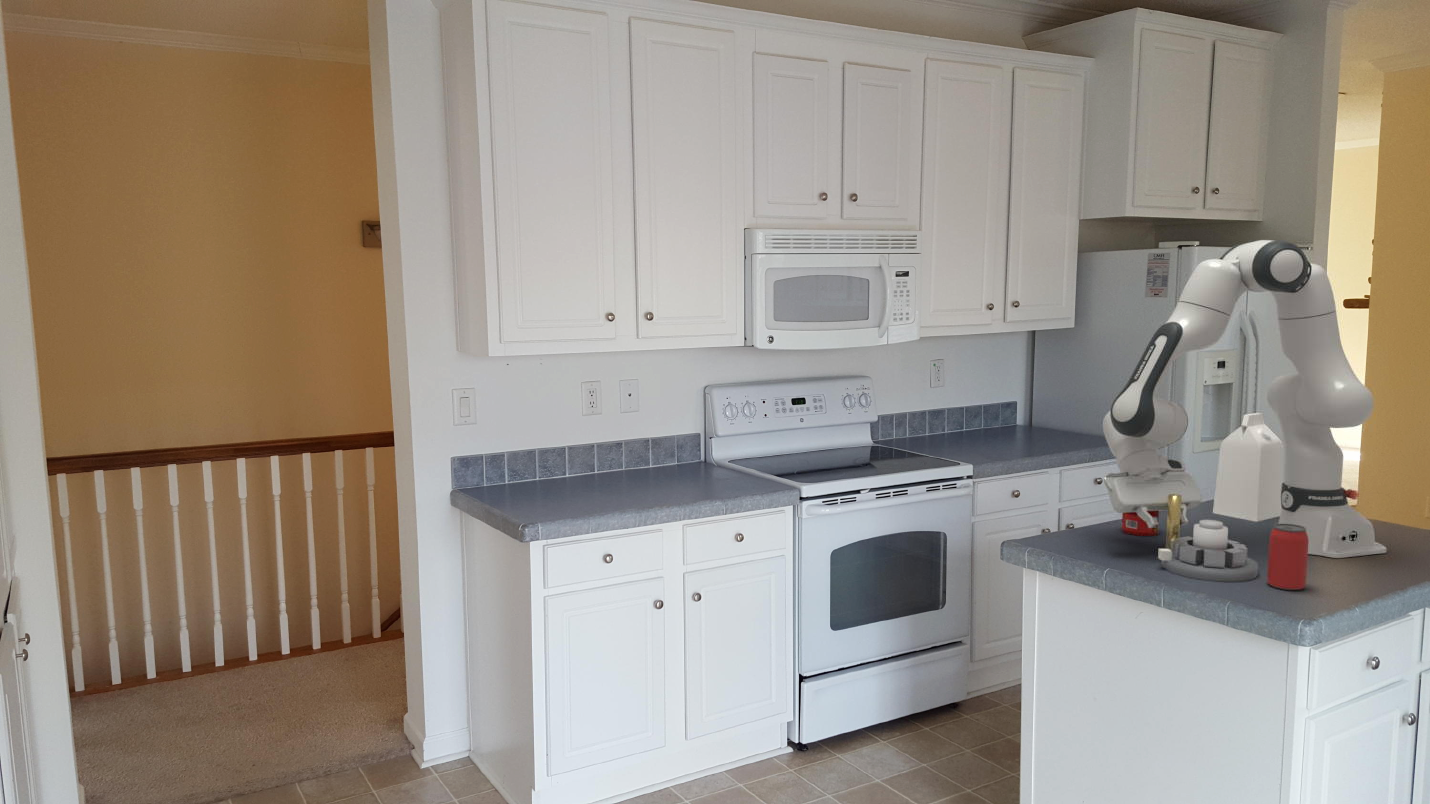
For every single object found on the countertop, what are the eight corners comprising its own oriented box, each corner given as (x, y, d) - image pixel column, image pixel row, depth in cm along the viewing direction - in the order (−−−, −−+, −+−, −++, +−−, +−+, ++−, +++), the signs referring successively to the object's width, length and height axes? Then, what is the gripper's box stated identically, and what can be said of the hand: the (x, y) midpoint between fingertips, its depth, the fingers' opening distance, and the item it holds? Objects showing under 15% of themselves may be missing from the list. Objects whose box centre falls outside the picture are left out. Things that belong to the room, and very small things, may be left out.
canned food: (1161, 537, 236) (1163, 491, 234) (1125, 535, 237) (1127, 489, 236) (1153, 529, 243) (1155, 484, 242) (1118, 527, 245) (1120, 483, 243)
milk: (1238, 507, 266) (1244, 410, 263) (1282, 515, 256) (1288, 414, 253) (1212, 512, 259) (1217, 413, 256) (1256, 521, 250) (1262, 418, 247)
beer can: (1259, 581, 200) (1263, 523, 199) (1291, 580, 201) (1294, 522, 199) (1280, 591, 194) (1284, 531, 192) (1313, 590, 194) (1317, 530, 193)
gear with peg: (1260, 561, 206) (1263, 506, 205) (1216, 570, 200) (1219, 513, 199) (1188, 543, 221) (1191, 491, 220) (1145, 550, 215) (1148, 497, 214)
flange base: (1222, 555, 219) (1225, 511, 218) (1277, 579, 201) (1280, 531, 200) (1140, 558, 217) (1142, 513, 216) (1188, 583, 199) (1190, 534, 198)
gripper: (1107, 466, 219) (1132, 520, 211) (1190, 462, 223) (1218, 515, 215) (1095, 481, 224) (1118, 535, 216) (1176, 477, 228) (1202, 530, 220)
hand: (1169, 525), depth 215 cm, fingers open, 6 cm apart
